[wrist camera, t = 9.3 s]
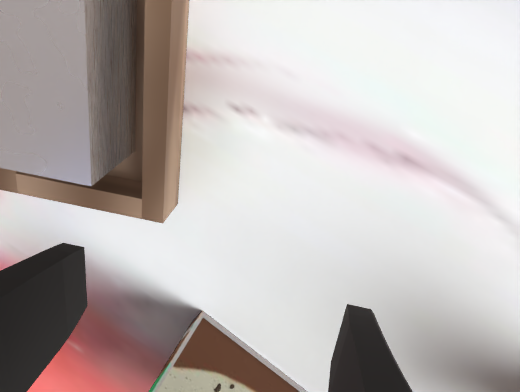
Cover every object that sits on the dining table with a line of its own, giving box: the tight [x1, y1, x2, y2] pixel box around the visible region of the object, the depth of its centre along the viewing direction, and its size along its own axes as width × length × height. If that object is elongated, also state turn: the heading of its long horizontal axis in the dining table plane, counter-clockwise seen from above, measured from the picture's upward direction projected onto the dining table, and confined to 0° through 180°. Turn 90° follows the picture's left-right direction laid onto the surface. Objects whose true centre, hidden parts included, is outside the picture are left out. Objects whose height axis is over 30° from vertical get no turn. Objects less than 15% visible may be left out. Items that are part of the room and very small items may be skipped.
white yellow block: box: [0, 0, 137, 186], centre depth 17 cm, size 4×8×4 cm, turn 173°
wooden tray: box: [0, 0, 189, 223], centre depth 18 cm, size 8×13×2 cm, turn 173°
